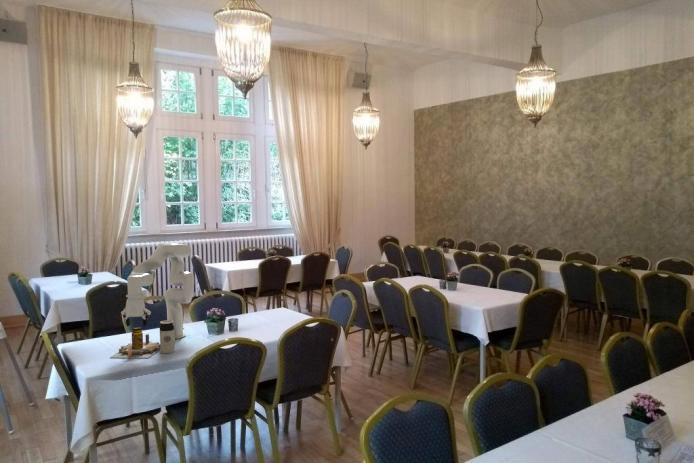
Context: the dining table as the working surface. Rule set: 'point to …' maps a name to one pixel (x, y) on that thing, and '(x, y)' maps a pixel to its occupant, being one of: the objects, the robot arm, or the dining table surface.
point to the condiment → (137, 338)
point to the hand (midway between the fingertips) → (136, 325)
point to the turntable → (147, 345)
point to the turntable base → (130, 355)
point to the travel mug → (167, 337)
